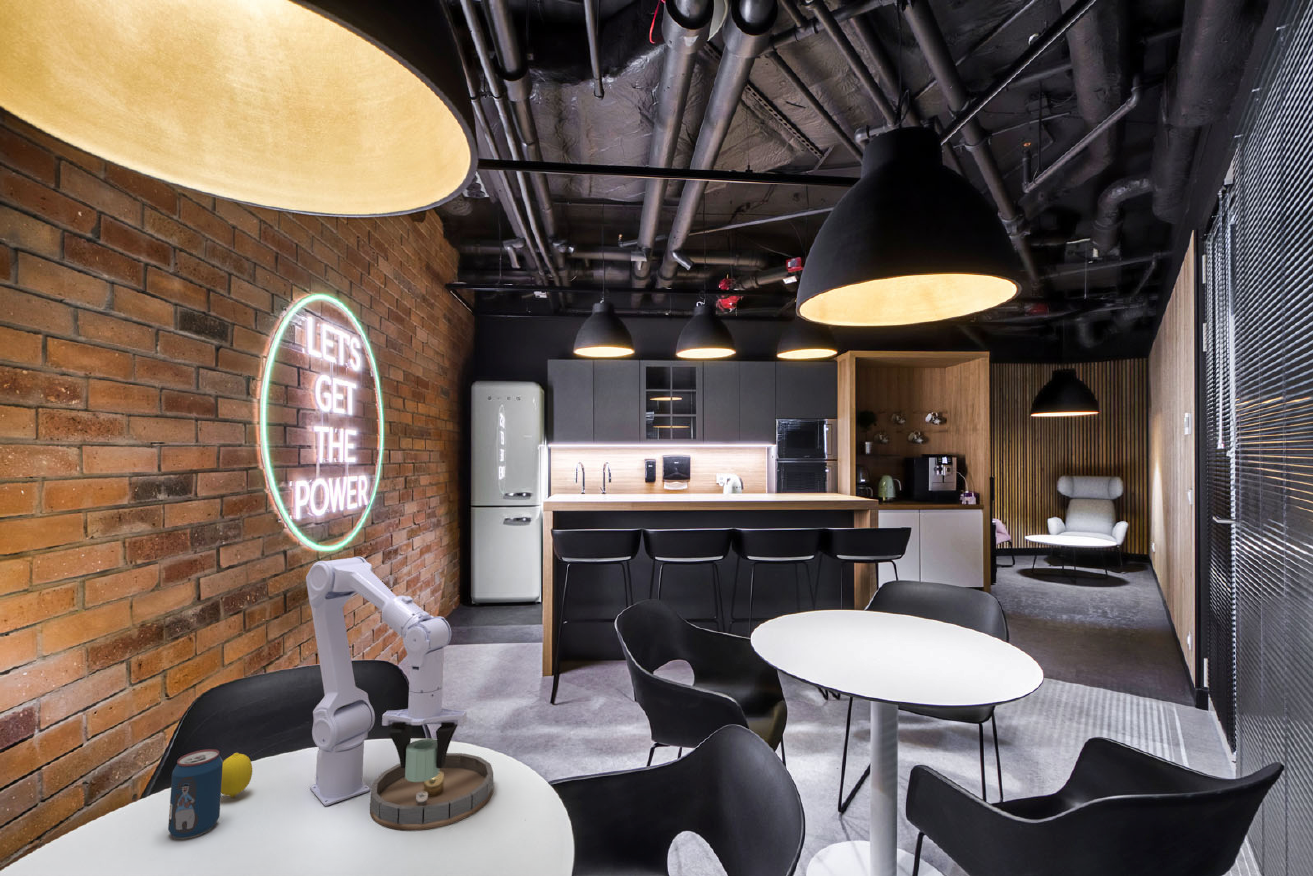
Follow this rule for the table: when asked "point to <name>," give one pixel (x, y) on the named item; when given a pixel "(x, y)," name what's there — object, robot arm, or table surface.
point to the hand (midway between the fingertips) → (423, 765)
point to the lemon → (235, 774)
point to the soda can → (195, 794)
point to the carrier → (432, 794)
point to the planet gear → (421, 760)
